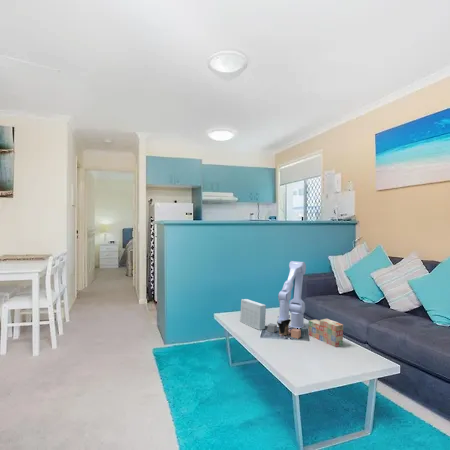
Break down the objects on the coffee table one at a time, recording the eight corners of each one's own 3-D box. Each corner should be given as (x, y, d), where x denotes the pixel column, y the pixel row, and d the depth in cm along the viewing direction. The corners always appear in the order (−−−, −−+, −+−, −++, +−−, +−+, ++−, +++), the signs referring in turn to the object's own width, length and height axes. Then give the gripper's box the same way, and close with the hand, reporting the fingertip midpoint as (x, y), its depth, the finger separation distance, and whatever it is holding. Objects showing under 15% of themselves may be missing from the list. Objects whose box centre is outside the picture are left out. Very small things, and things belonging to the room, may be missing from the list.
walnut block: (281, 332, 202) (282, 323, 202) (288, 333, 199) (288, 325, 199) (278, 334, 198) (279, 325, 198) (285, 336, 195) (285, 327, 195)
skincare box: (265, 329, 208) (266, 304, 208) (259, 330, 205) (260, 306, 205) (246, 320, 225) (246, 298, 225) (239, 321, 222) (240, 299, 222)
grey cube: (270, 330, 206) (270, 323, 206) (276, 331, 204) (276, 324, 204) (267, 332, 202) (267, 325, 202) (273, 333, 200) (273, 326, 200)
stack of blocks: (308, 335, 198) (308, 315, 198) (315, 333, 201) (315, 314, 201) (335, 347, 179) (335, 325, 179) (343, 345, 182) (343, 324, 182)
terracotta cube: (293, 335, 197) (293, 328, 197) (300, 336, 195) (300, 329, 195) (291, 337, 194) (291, 330, 194) (298, 339, 191) (298, 331, 191)
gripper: (282, 306, 207) (282, 327, 207) (273, 311, 195) (273, 333, 195) (293, 308, 203) (292, 329, 203) (284, 313, 191) (283, 336, 191)
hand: (283, 331), depth 199 cm, fingers closed on walnut block, 4 cm apart
